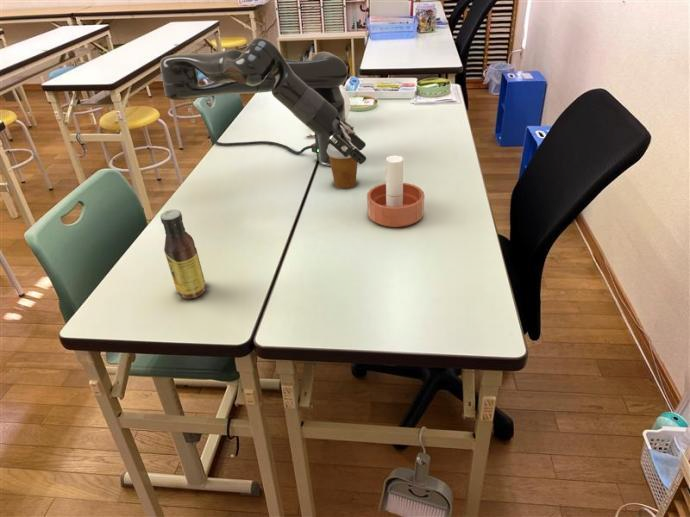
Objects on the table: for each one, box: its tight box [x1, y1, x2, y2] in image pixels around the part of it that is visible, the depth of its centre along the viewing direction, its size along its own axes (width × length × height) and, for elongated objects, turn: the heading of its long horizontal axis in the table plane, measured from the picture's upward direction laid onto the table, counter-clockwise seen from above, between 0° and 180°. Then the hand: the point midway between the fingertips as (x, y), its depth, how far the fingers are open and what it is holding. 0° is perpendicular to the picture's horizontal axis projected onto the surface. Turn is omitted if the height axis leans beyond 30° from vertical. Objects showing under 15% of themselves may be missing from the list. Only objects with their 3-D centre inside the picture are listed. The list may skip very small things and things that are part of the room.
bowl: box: [366, 182, 425, 228], centre depth 135 cm, size 15×15×6 cm
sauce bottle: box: [159, 208, 206, 300], centre depth 108 cm, size 6×6×20 cm
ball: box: [306, 84, 354, 138], centre depth 186 cm, size 17×25×24 cm
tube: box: [385, 155, 404, 207], centre depth 133 cm, size 4×4×15 cm
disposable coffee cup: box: [327, 144, 361, 189], centre depth 151 cm, size 10×10×12 cm
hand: (363, 154), depth 128 cm, fingers open, 8 cm apart
